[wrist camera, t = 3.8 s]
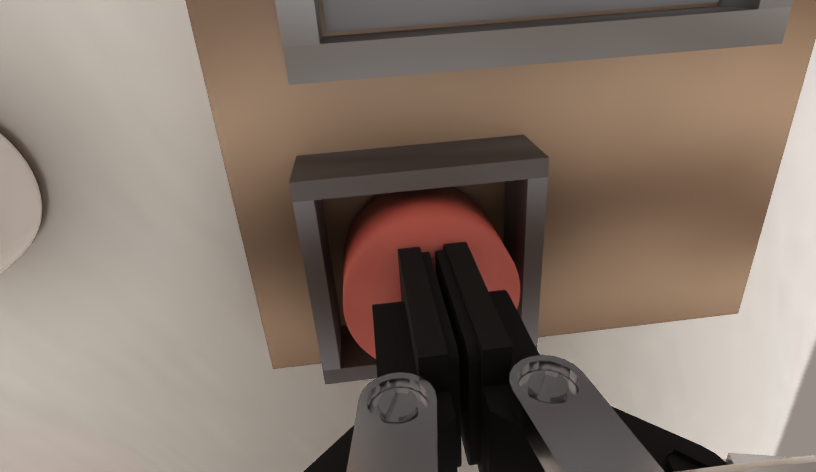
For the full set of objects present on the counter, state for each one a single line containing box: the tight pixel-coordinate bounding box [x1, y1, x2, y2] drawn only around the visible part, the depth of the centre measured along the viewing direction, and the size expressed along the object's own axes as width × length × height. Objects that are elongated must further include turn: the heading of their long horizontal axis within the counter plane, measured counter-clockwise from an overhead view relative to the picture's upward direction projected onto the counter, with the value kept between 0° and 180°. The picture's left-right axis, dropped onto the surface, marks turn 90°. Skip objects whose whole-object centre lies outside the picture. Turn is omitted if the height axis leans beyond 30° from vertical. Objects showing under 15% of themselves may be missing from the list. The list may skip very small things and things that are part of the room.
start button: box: [343, 187, 520, 359], centre depth 14 cm, size 4×4×2 cm
